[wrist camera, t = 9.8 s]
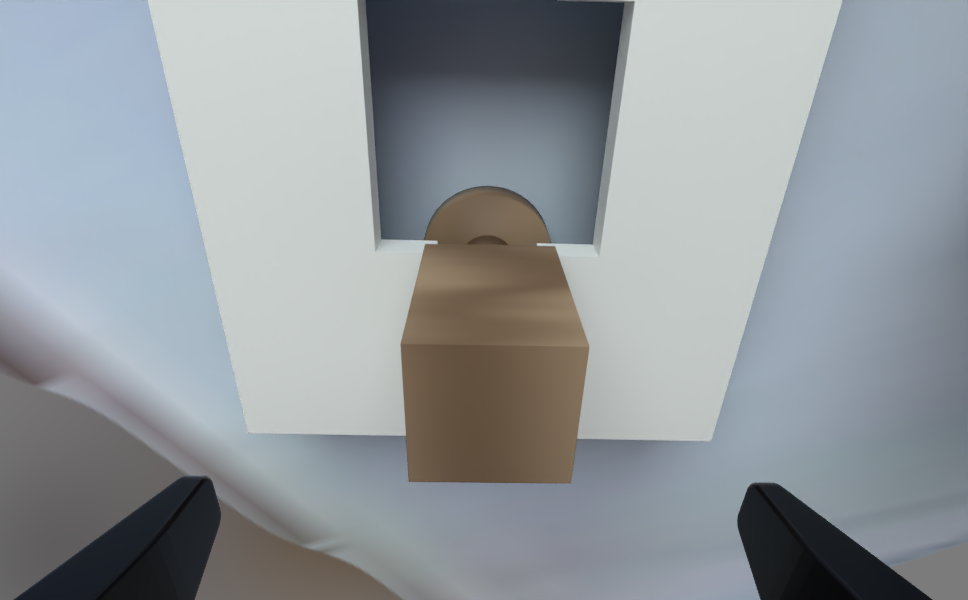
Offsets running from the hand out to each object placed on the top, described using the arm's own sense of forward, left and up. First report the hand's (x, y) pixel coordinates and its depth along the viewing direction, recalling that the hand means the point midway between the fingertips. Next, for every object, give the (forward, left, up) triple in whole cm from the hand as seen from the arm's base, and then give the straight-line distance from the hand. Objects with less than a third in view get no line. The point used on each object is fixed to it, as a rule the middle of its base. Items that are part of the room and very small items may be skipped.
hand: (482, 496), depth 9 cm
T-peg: (0, 0, -11) cm, 11 cm away
